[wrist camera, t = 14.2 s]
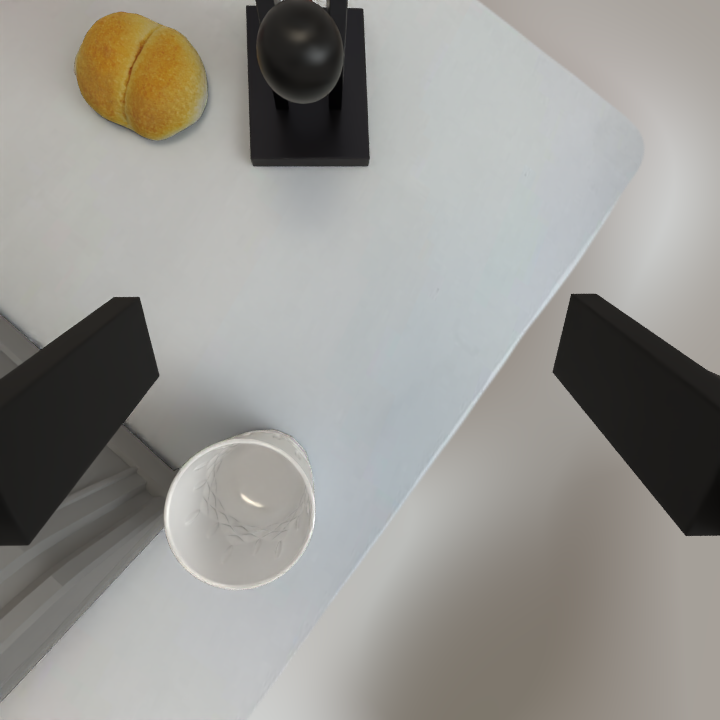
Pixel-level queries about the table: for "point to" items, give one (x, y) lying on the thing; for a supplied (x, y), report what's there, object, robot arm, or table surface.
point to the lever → (300, 51)
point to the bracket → (313, 120)
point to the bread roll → (141, 75)
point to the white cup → (242, 510)
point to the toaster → (75, 540)
